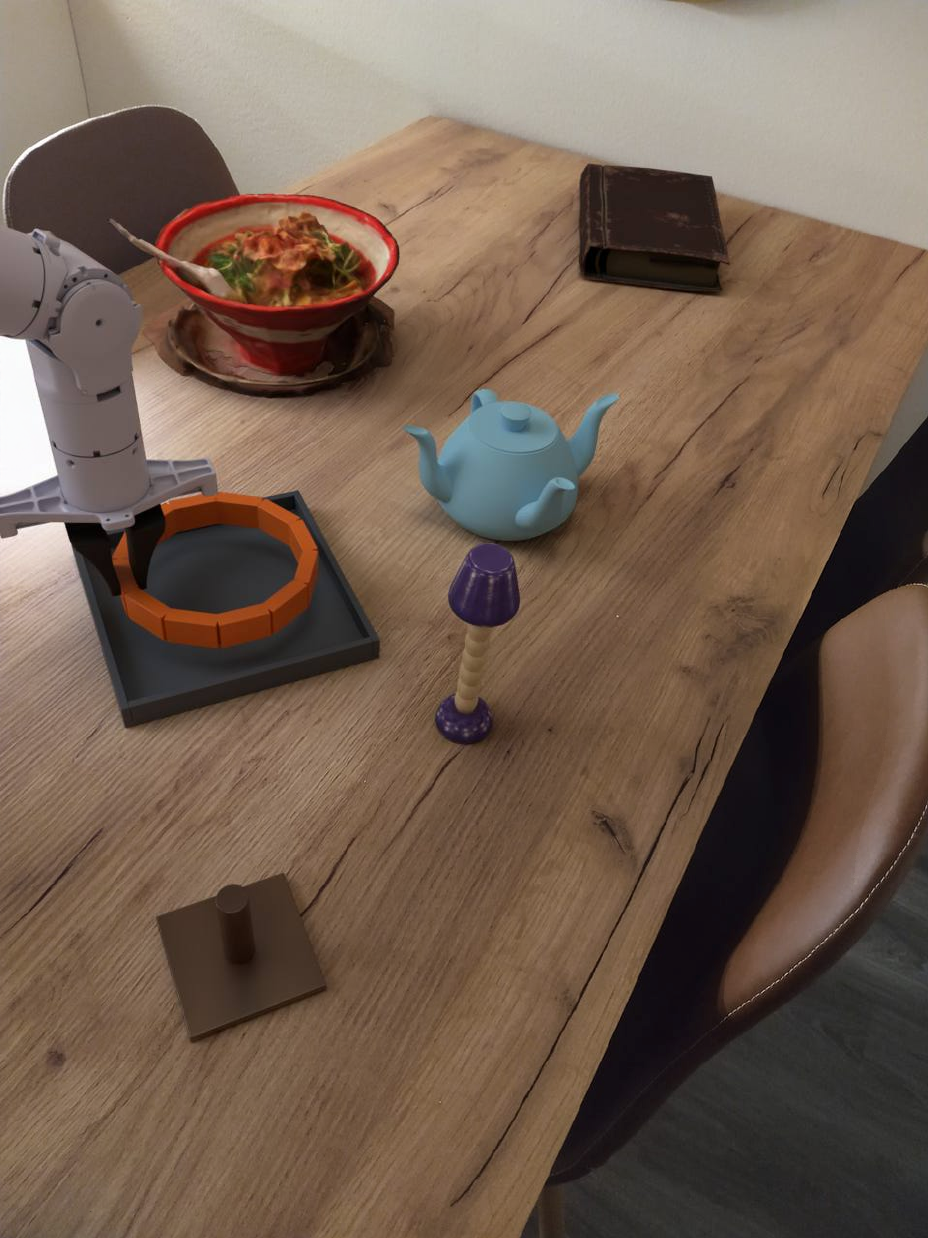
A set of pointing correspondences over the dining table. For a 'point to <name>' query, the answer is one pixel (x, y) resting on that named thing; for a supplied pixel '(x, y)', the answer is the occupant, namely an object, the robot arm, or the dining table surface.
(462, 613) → the toy lamp
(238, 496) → the ring
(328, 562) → the tray
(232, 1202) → the dining table surface
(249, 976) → the stand
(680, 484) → the dining table surface
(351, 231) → the stew
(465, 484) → the teapot
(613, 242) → the diary
